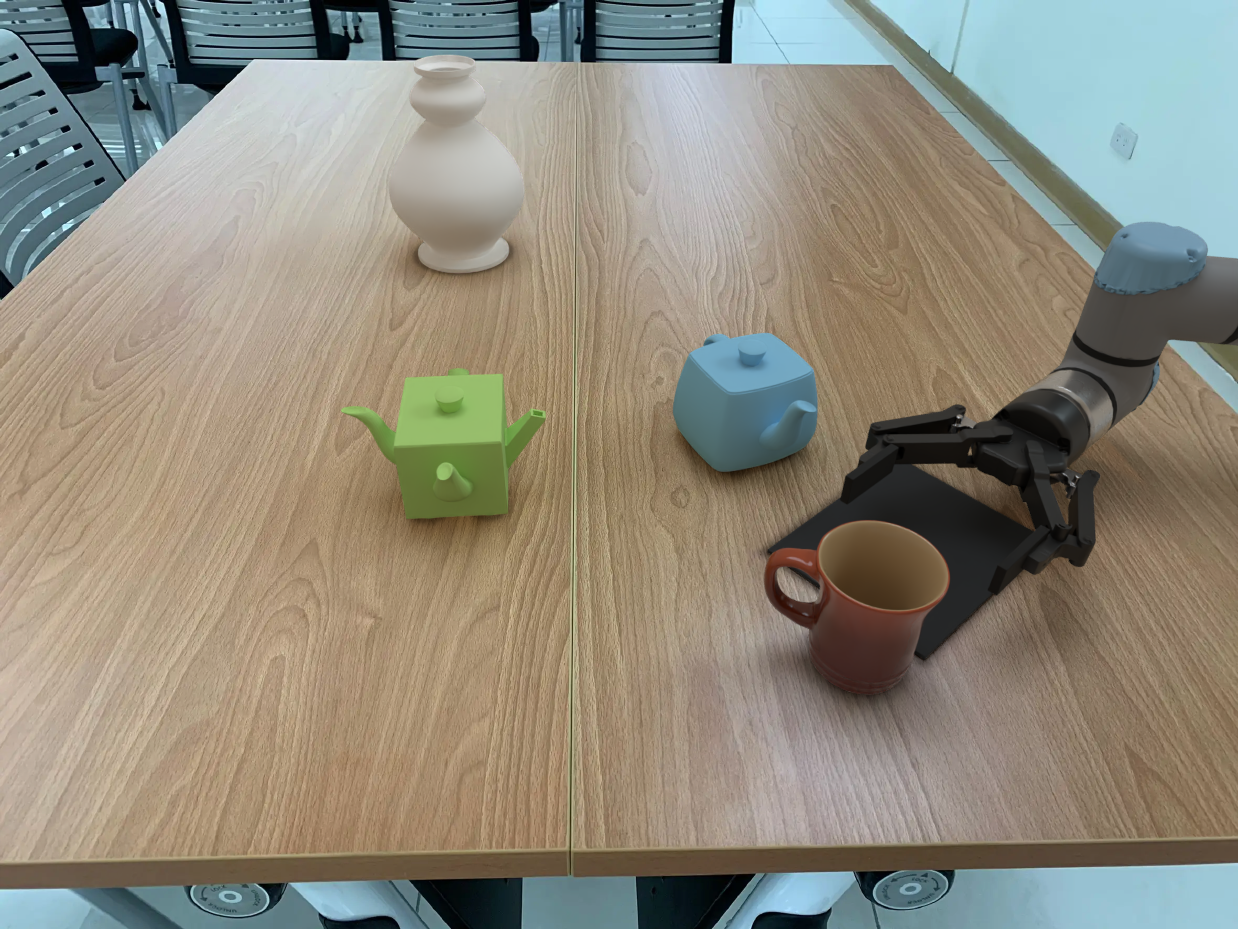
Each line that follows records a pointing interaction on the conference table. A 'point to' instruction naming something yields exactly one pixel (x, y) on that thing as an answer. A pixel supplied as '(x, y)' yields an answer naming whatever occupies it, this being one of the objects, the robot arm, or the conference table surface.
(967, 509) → the front mat
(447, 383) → the kettle
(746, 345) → the teapot
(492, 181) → the decorative vase
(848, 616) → the mug
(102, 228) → the conference table surface
